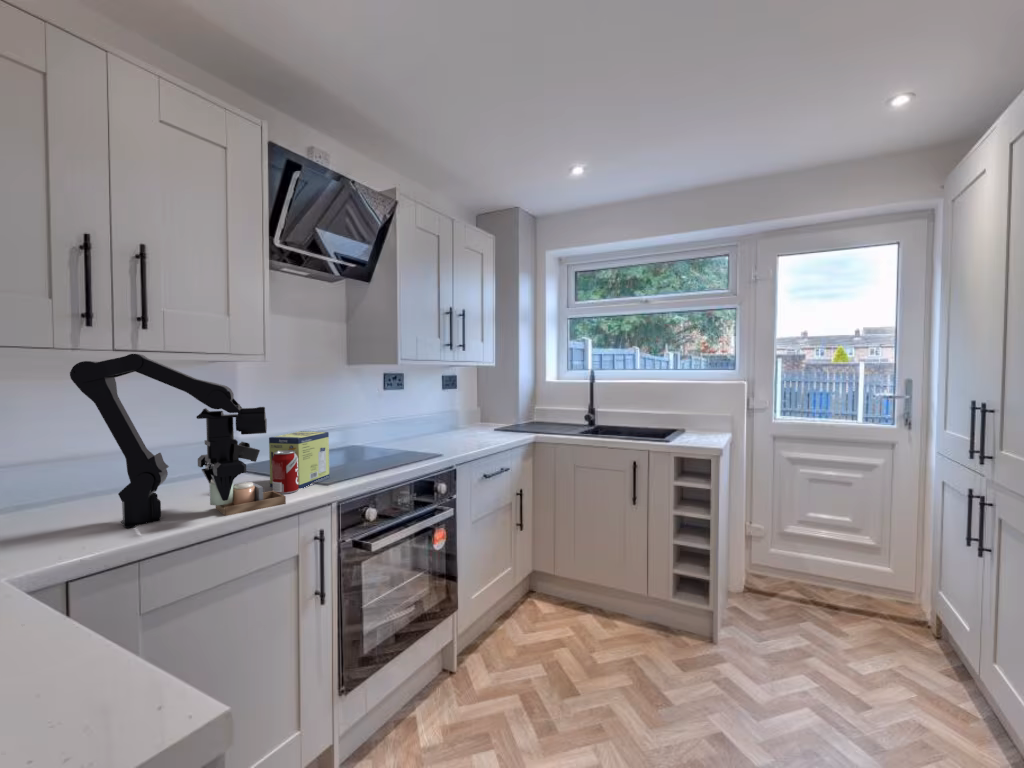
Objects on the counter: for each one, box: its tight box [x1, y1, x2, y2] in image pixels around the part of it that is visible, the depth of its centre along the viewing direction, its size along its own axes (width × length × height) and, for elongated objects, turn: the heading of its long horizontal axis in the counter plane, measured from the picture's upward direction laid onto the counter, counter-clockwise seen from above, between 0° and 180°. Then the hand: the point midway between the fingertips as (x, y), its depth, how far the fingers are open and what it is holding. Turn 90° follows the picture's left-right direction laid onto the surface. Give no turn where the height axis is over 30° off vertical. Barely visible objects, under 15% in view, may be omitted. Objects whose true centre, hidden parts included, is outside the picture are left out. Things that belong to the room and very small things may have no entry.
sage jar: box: [208, 479, 234, 506], centre depth 119 cm, size 5×5×6 cm
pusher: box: [252, 482, 264, 501], centre depth 125 cm, size 1×7×5 cm, turn 45°
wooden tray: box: [215, 490, 287, 517], centre depth 124 cm, size 14×9×2 cm, turn 136°
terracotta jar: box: [233, 481, 255, 505], centre depth 123 cm, size 5×5×6 cm
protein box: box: [268, 430, 330, 490], centre depth 151 cm, size 10×16×16 cm
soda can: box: [272, 450, 299, 495], centre depth 139 cm, size 7×7×12 cm
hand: (222, 498), depth 119 cm, fingers closed on sage jar, 5 cm apart
